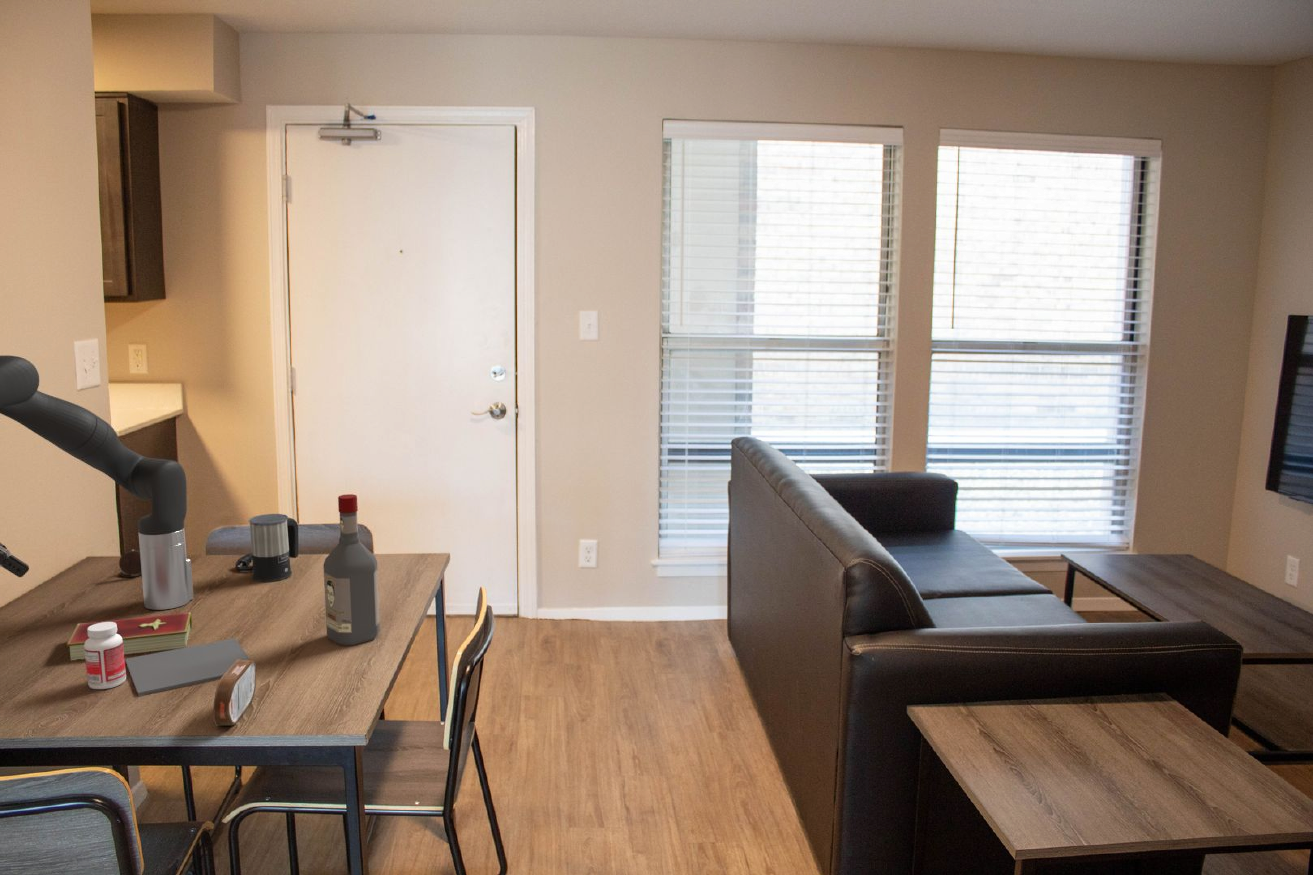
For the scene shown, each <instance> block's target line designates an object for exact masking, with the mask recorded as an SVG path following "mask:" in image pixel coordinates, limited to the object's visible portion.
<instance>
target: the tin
mask: <svg viewBox="0 0 1313 875" xmlns="http://www.w3.org/2000/svg"><path fill="white" fill-rule="evenodd" d="M256 672H257V664H256V662H255V661H254V660H252V659H250V660H241V659H238V660H236V661H235V663H234V664H233V665H232V666H231V667H230V668H229V670H228V671H227V672H226V673H225V674H224V675H223V676H222V678H221V679H219V682H218V683H217V686H216V689H215V690H216V691H215V693H214V698H213V720H214V724H215V726H219V727H220V726H234V725H236V724H237V723H238V721H239V720H240V719H241V717H242V716H243V715H244V713H245V712H246V711H247V709H248V708H249V706H250V705H251V704H252V702H253V699H254V696H255V691H256V688H257V683H256V675H257V673H256Z"/></svg>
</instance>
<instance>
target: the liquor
mask: <svg viewBox="0 0 1313 875" xmlns="http://www.w3.org/2000/svg"><path fill="white" fill-rule="evenodd" d="M337 501H338V502H337V504H338V507H337V508H338V513H339V533H340V534H339V536H340V537H339V539H338V543H337V545H336V546H335V547H334V548H333V549H332V551H331V552H330V553H329V554H328V555H327V557H325V558H324V563H323V581H324V603H325V604H324V605H325V622H326V623H325V625H326V635H327V638H329V640H331V641H333V642H335V643H336V644H338V645H339V646H351V647H352V646H357V645H359V644H364V643H367V642H370V641H373V640H375V639H376V638H377V636H378V635H379V633H380V632H381V627H380V625H381V622H380V602H379V600H380V599H379V597H380V595H379V576H378V575H379V573H378V561H377V558H376V556H375V555H374V554H373V553H372V551H370V549H368V548H367V547H366V546H365V545H364V544H363V543H362V542H361V538H360V537H359V536H360V535H359V529H358V528H359V527H358V526H359V525H358V511H359V509H358V496H357V495H356V494H353V493H351V494H341V495H339V496H338V497H337Z"/></svg>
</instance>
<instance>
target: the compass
mask: <svg viewBox="0 0 1313 875" xmlns="http://www.w3.org/2000/svg"><path fill="white" fill-rule="evenodd" d="M118 564H119V568H120V570H121V571H116V572H115V571H112V572H111V575H113V574H115V575H118V574H120V576H121V577H123V578H124V577H125V578H136V577H142V570H141V557H140V550H137V549H134V548H132V550H128V551H126V552H124V553H123V554H122V555H121V556H120V558H119V561H118Z"/></svg>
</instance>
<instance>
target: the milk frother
mask: <svg viewBox="0 0 1313 875" xmlns="http://www.w3.org/2000/svg"><path fill="white" fill-rule="evenodd" d="M247 522H248V523H249V530H250V544H251V546H250V547H251V553H246V554H245V555H243V556H241V557H240V558H238V559H237V561H235V568H236V569H237V570H238V571H241V572H251V571H252V575H251V579H252V580H254V581H257V582H263V583H264V582H275V581H276V582H277V581H281V580H282V581H283V580H285V579H288V578H289V577H291V576H292V574H293V572H292V567H291V560H290V559H296V558H298V556H299V525H298V522H297V521H296V519H294V518H291V517H289V516H288V515H287V514H284V513H283V514H282V513H268V514H267V513H266V514H260V515H255V516H252V517H250V518H249V519H248V521H247ZM251 563H252V565H251Z"/></svg>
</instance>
